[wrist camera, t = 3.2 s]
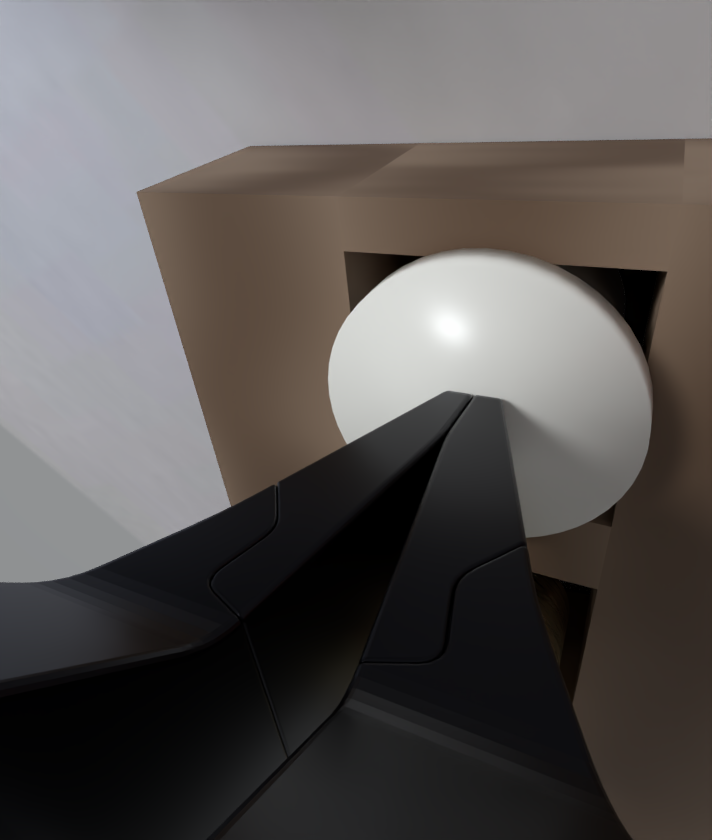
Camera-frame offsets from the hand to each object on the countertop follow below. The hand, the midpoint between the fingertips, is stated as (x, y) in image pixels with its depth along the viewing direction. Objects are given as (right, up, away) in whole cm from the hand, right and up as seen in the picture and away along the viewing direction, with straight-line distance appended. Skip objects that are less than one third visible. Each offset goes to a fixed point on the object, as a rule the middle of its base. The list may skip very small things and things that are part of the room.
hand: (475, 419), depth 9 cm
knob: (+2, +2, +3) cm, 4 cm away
